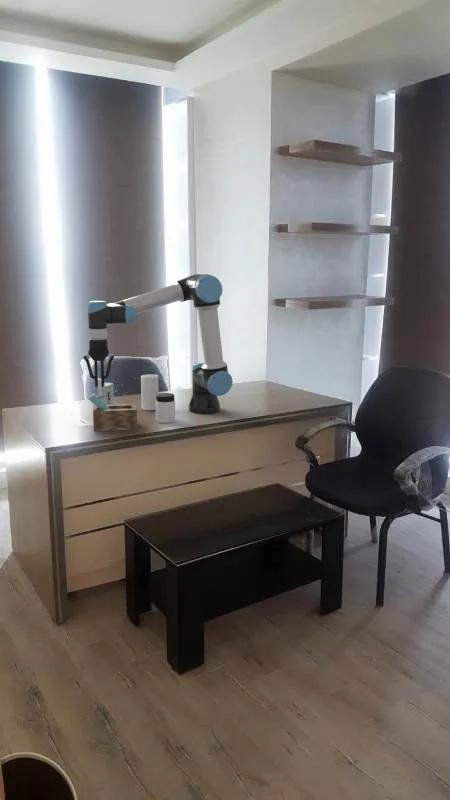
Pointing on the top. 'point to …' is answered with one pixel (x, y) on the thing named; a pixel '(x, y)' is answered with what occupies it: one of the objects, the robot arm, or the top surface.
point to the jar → (165, 408)
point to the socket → (115, 417)
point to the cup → (149, 391)
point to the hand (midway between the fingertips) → (99, 394)
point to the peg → (98, 402)
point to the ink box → (107, 393)
